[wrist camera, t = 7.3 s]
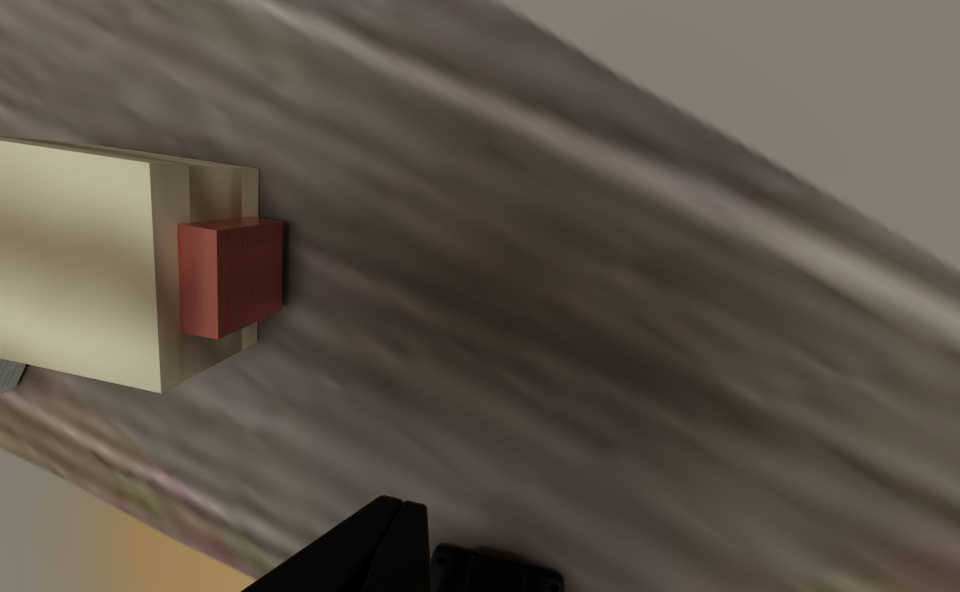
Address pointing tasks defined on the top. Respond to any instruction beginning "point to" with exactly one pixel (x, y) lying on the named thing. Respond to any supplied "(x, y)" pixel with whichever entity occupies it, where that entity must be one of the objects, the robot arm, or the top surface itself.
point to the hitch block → (108, 259)
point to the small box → (10, 374)
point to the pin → (229, 274)
